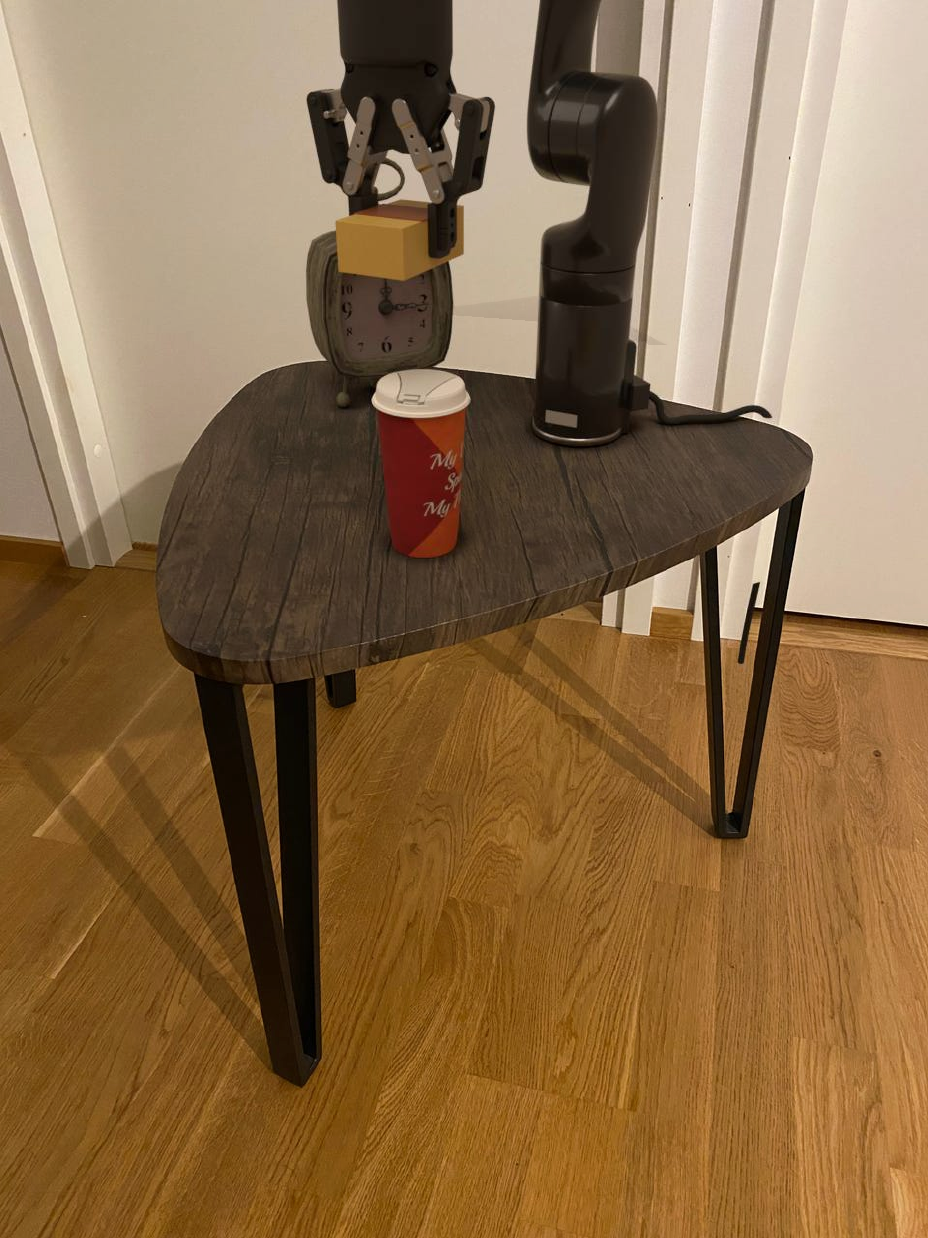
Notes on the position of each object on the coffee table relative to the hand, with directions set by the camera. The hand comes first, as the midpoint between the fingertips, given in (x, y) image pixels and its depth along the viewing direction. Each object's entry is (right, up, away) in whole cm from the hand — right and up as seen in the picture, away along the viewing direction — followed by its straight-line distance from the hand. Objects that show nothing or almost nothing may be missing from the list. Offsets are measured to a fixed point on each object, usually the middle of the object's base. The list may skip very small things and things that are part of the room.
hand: (402, 250), depth 72 cm
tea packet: (0, -1, 0) cm, 1 cm away
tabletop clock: (-5, -1, +41) cm, 41 cm away
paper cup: (+1, -21, +11) cm, 24 cm away
